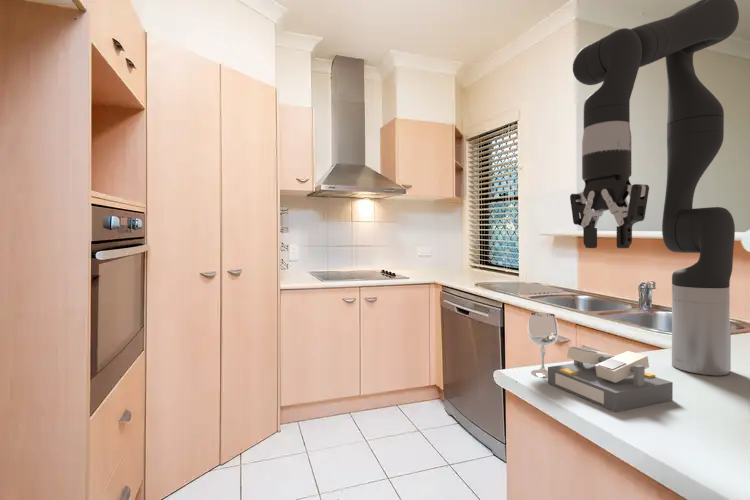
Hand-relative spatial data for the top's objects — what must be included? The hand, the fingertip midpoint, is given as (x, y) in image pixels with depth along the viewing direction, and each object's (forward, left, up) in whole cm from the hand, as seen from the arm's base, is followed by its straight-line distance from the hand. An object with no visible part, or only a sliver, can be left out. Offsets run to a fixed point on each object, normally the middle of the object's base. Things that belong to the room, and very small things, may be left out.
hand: (606, 247), depth 70 cm
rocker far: (0, +3, -20) cm, 20 cm away
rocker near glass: (0, -3, -20) cm, 20 cm away
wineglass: (+4, -11, -26) cm, 28 cm away
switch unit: (0, 0, -25) cm, 25 cm away
